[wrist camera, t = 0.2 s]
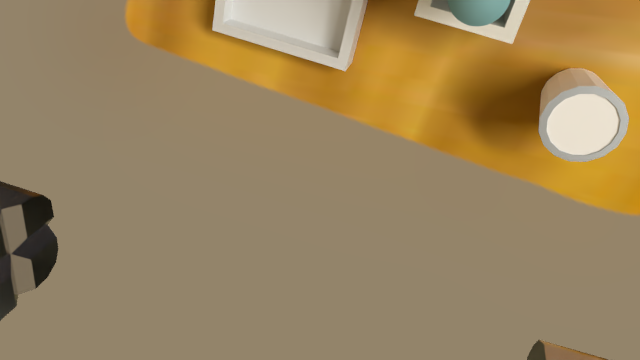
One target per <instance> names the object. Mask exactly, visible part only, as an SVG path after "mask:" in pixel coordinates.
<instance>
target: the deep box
mask: <svg viewBox="0 0 640 360" xmlns="http://www.w3.org/2000/svg"><path fill="white" fill-rule="evenodd" d="M529 2H530V0H511V1H510V4H509V6H508V8H507V9H506V11H505V12H504V14H503V15H502V16H501V17H500V18H499V19H497V20H496V21H494V22H493V23H490V24H488V25H485V26H469V25H466V24H464V23H462V22H460V21H459V20H458V19H457V18H455V16H454V15H453V14H452V12H451V10H450V8H449V5H448V0H419V1H418V4H417V7H416V11H415V14H414V16H418V17H421V18H425V19H428V20H431V21H435V22H438V23H442V24H445V25H449V26H452V27H456V28H459V29H462V30H466V31H469V32H473V33H476V34H480V35H483V36H487V37H490V38H493V39H497V40H500V41H504V42H507V43H511V44H512V43H513V41H514V38H515V36H516V33H517V31H518V28H519V26H520V24H521V21H522V19H523V16H524V14H525V11H526V9H527V7H528V4H529Z"/></svg>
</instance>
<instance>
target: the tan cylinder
mask: <svg viewBox="0 0 640 360" xmlns="http://www.w3.org/2000/svg"><path fill="white" fill-rule="evenodd" d="M628 121H629V116H628V113H627V110H626V107H625V104H624V103H623V102H622V101H621V99H620V98H619V97H618V96H617V95H616V94H615V93H614V92H613V91H612V90H611V89H610V88H609V87H608V86H607V85H606V84H605V83H604V82H603V81H602V80H601V79H600V78H599V77H598V76H597V75H596V74H595V73H594V72H591V71H588V70H586V69H583V68H569V69H566V70H563V71H561V72H558V73H556V74H555V75H554V76H553V77H551V78H550V79H549V80H548V81H547V82H546V84H545V86H544V87H543V89H542V91H541V99H540V115H539V134H540V137H541V140H542V142H543V145H544V146H545V147H546V148H547V149H548V150H549V151H550V152H551V153H552V154H553V155H555V156H557V157H560V158H562V159H565V160H568V161H581V162H587V161H590V160H593V159H597V158H600V157H603V156H605V155H606V154H607V153H609V152H610V151H612V150H613V149H615V148H616V147H617V146H618V145H619V143H620V142H621V140H622V139H623V137H624V136H625V134H626V132H627V126H628Z"/></svg>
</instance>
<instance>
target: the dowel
mask: <svg viewBox="0 0 640 360" xmlns="http://www.w3.org/2000/svg"><path fill="white" fill-rule="evenodd" d="M510 1H511V0H448V5H449V8H450V10H451V12H452V14H453V15H454V16H455V18H457V19H458V20H459V21H460V22H462V23H464V24H466V25H469V26H485V25H488V24H490V23H493V22H494V21H496V20H497V19H499V18H500V17H501V16H502V15H503V14H504V12H505V11H506V9H507V8H508V6H509V4H510Z"/></svg>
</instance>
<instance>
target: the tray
mask: <svg viewBox="0 0 640 360" xmlns="http://www.w3.org/2000/svg"><path fill="white" fill-rule="evenodd" d="M367 2H368V0H216V1H215V10H214V19H213V28H212V30H213V31H216V32H220V33H223V34H226V35H229V36H233V37H236V38H239V39H242V40H246V41H249V42H252V43H255V44H259V45H262V46H265V47H268V48H272V49H275V50H278V51H281V52H285V53H288V54H291V55H294V56H298V57H301V58H304V59H307V60H311V61H314V62H317V63H320V64H324V65H327V66H330V67H333V68H337V69H340V70H343V71H346V70H347V68H348V67H349V66H350V64H351V63H352V61H353V57H354V53H355V49H356V45H357V41H358V37H359V33H360V30H361V26H362V22H363V18H364V14H365V10H366V6H367Z"/></svg>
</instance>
